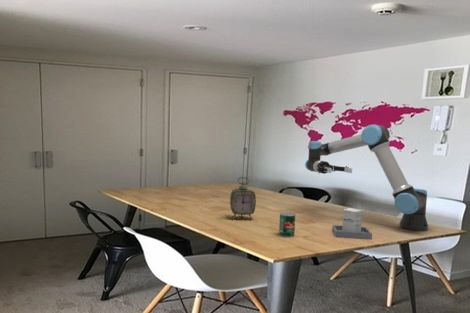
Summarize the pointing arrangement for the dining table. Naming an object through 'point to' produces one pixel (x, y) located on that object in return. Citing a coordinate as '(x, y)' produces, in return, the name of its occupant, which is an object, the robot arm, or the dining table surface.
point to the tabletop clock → (242, 200)
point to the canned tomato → (287, 224)
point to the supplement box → (352, 220)
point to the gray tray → (351, 233)
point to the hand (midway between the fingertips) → (341, 170)
